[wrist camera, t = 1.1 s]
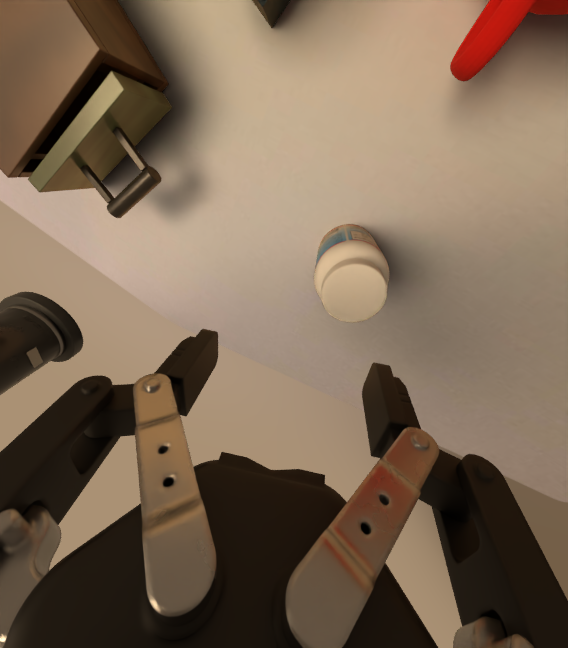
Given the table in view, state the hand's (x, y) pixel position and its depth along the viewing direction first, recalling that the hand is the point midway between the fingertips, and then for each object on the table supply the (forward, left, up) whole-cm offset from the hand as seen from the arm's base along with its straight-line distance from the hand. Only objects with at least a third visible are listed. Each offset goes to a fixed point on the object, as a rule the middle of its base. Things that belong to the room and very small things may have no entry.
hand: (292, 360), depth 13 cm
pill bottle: (+3, -1, -19) cm, 19 cm away
